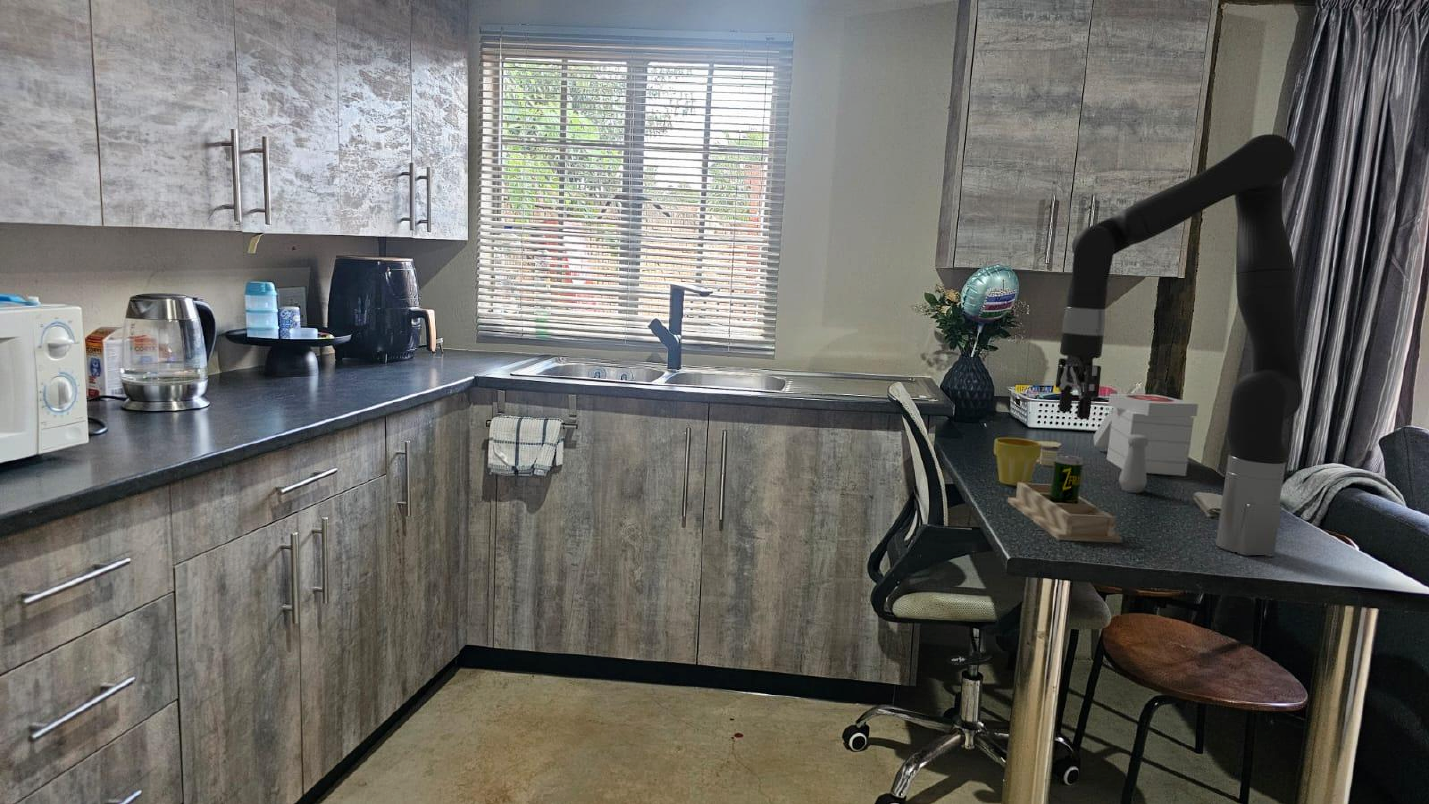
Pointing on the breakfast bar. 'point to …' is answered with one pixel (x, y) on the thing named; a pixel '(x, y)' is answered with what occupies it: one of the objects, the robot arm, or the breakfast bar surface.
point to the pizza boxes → (1149, 430)
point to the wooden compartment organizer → (1064, 515)
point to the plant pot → (1016, 459)
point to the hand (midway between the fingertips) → (1073, 415)
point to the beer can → (1066, 479)
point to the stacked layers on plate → (1048, 453)
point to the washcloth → (1209, 503)
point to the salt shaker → (1134, 465)
